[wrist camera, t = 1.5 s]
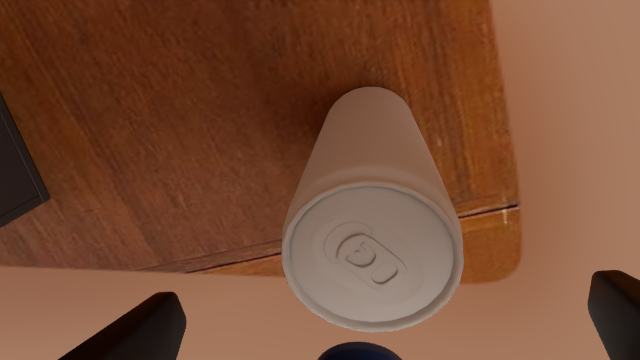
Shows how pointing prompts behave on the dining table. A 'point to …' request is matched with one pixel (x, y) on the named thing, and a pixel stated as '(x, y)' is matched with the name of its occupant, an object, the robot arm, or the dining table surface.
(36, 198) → the waste bin
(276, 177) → the dining table surface
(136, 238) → the dining table surface
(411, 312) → the beverage can
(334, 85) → the dining table surface
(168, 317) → the robot arm
